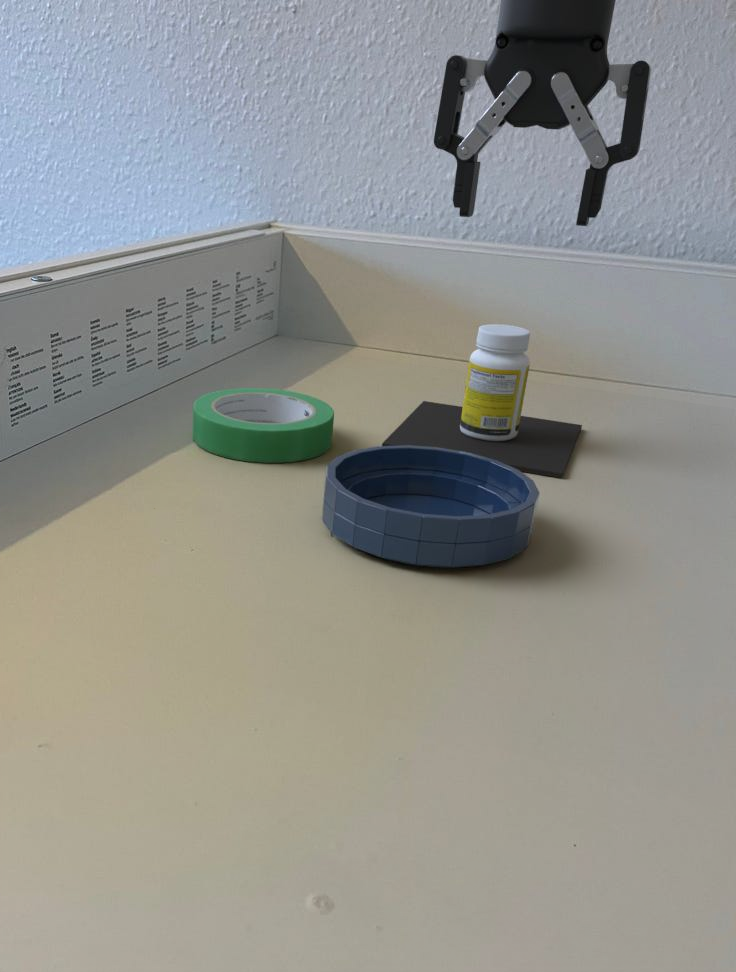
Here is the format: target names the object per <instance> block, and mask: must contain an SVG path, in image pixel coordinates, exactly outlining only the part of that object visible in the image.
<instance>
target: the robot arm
mask: <svg viewBox="0 0 736 972" xmlns="http://www.w3.org/2000/svg"><path fill="white" fill-rule="evenodd" d="M615 6H616V0H500V5H499V12H498V21H497V27H496V33H495V34H496V35H495V41H494V46H493V50H492V52H491V53H490V55H489V57H488V58H487V60H484V59H475V58H474V59H473V58H467V57H465V56H463V55H460V54H459V55H458V54H455V55H451V56H450V57H448V59H447V61H446V64H445V69H444V77H443V81H442V88H441V94H440V100H439V105H438V106H439V107H438V111H437V118H436V123H435V128H434V129H435V130H434V135H433V144H434V147H435V148H436V149H438V150H442V151H444V152H447V153H448V154H450V155H452V156H453V157H454V158H455V161H456V168H455V169H456V170H455V176H454V186H453V194H452V203H453V207H454V209H455V208H457V209H459V213H458V214H459V215H458V216H459V217H461V218H470V217H473V215H474V212H475V205H476V200H477V199H476V198H477V191H478V184H479V178H480V176H479V175H480V169H481V161H478V160H479V159H478V158H479V154H480V153H481V152H482V151H483V149H484V148H485V147H486V146H487V145H488V144H489V142H490V141H491V140H492V139H493V138H494V137H495V136H496V135H498V133H499V132H500V131H501V130H502V128H504V126H505V125H506V124H507V123H508V124H509V125H510V126H512V127H513V128H520V129H521V128H523V129H527V128H532V127H536V126H538V127H540V128H543V129H546V130H562V129H564V128H567V127H569V126H571V128H572V131H573V133H574V134H575V136H576V139H577V140H578V141H579V143H580V145H581V148H583V151H584V153H585V155H586V157H587V159H588V161H589V163H590V164H589V167H588V168H587V169H585V173H584V179H583V185H582V190H581V194H580V200H579V206H578V212H577V218H576V222H575V223H576V227H577V226H579V227H587V226H588V225H589V221H590V218H592V219H595V218H597V216H598V214H599V213H600V212H601V209H602V205H603V199H604V194H605V191H606V190H605V189H606V184H607V179H608V173H609V171H610V169H611V168H612V167H613V166H614V165H616V164H619V163H623V162H626V161H631V160H632V159H634V158H635V157H636V156H637V155H638V154H639V152H640V148H641V141H642V134H643V128H644V121H645V114H646V107H647V101H648V92H649V86H650V80H651V73H652V68H651V66H650V64H649V63H648V62H647V61H646V60H637V61H635V62H634V63H619V64H618V63H617V64H611V63H610V61H609V58H608V43H609V39H610V33H611V28H612V22H613V17H614V12H615ZM481 77H484V80H485V82H486V84H487V87H488V88H489V90H490V93H491V94H492V97H493V98H494V101H493V103H492V104H491V105H490V106H489V107H487V110H486V111H485V112H484V113H483V114H482V116H480V118H479V119H478V121H477V122H476V124H475V125H474V127H473V128H471V130H470V132H469V133H468V134H467V135H466V136H465V137H464V136H462V135H461V134H459V129H460V124H461V117H462V114H463V113H462V112H463V108H464V107H463V106H464V101H465V95H466V93H469V92H471V91H473V90H474V89H475V87H476V85H477V82H478V80H479V79H481ZM608 81H611V82H612V83H614V85H615V92H616V93H615V94H616V96H617V97H618V98H620V99H622V100H625V107H624V112H623V121H622V128H621V133H620V134H621V135H620V142H619V143H616V144H613V145H610V146H608V145H607V143H606V141H605V139H604V137H603V135H602V133H601V131H600V128H599V126H598V123H597V121H596V120H595V118H594V116H593V114H592V112H591V109H590V108H589V105H590V103H591V102H592V101H593V100H594V99H595V97H597V95H598V94H599V93H600V92H601V91H602V89H604V87H605V86H606V85H607V83H608Z"/></svg>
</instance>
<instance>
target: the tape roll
mask: <svg viewBox="0 0 736 972" xmlns="http://www.w3.org/2000/svg"><path fill="white" fill-rule="evenodd" d="M192 407H193V408H192V439H193V442H194V443H195V444H196V445H197V446H198V447H199V448H201V449H203V450H204V451H206V452H208V453H211V454H213V455H216V456H219V457H223V458H227V459H230V460H236V461H242V462H250V463H262V464H263V463H264V464H265V463H266V464H281V463H282V464H283V463H294V462H295V463H296V462H300V461H301V462H303V461H305V460H306V461H307V460H310V459H314V458H317V457H319V456H322V455H324V454H325V453H326V452H328V451H329V450H330V448H331V447H332V442H333V441H332V440H333V432H334V421H335V411H334V408H333V407H332V406H331V405H330V404H329V403H326V402H325V401H323V400H321V399H319V398H317V397H314V396H311V395H308V394H306V393H305V394H304V393H300V392H296V391H290V390H283V389H276V388H264V387H261V388H260V387H238V388H227V389H221V390H217V391H213V392H209V393H206V394H203V395H202V396H200V397H198V398H197V399H196V400H195V401H194V403H193V406H192Z"/></svg>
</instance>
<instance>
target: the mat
mask: <svg viewBox="0 0 736 972" xmlns="http://www.w3.org/2000/svg"><path fill="white" fill-rule="evenodd" d="M462 408H463V406H460V405H454V404H447V403H440V402H434V401H426V400H423V401H422V402H421V403H420V404H419V405H418V406H417V407H416V408H415V409H414V410H413V411H412V412H411V413H410V414H409V415H408V417H406V418H405V420H403V421H402V423H400V425H399V426H397V427H396V429H395V430H393V432H392V433H391V434H390V435H388V437H387V438H386V439H385V440H384V441H383V442H382V444H381V446H401V445H407V446H408V445H412V446H427V447H438V448H445V449H451V450H457V451H463V452H468V453H472V454H476V455H479V456H483V457H487V458H490V459H494V460H497V461H499V462H502V463H504V464H506V465H508V466H511V467H513V468H515V469H518V470H519V471H521V472H522V473H527V474H528V473H529V474H533V475H540V476H544V477H545V476H546V477H552V478H556V479H557V478H558V479H563V477H564V474H565V472H566V469H567V466H568V464H569V462H570V460H571V457H572V455H573V451H574V448H575V446H576V444H577V441H578V439H579V436H580V433H581V431H582V427H583V425H582V424H577V423H572V422H566V421H559V420H551V419H545V418H538V417H532V416H525V415H521V417H520V423H519V429H518V433H517V435H516V436H515V437H514V438H512V439H510V440H506V441H486V440H480V439H476V438H473V437H469V436H467V435H465V434H463V433H462V432H461V430H460V422H461V415H462Z"/></svg>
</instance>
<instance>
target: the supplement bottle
mask: <svg viewBox="0 0 736 972" xmlns="http://www.w3.org/2000/svg"><path fill="white" fill-rule="evenodd" d="M530 338H531V331H530V330H528V329H526V328H524V327H520V326H516V325H512V324H502V323H490V324H483V325H480V326H479V327H478V331H477V335H476V341H475V342H476V343H475V346H476V347H477V348H478V349H475V350H474V351H472V353H471V354H470V357H469V361H468V367H467V374H466V375H467V376H466V381H465V389H464V394H463V395H464V396H463V403H462V407H463V408H462V415H461V422H460V430H461V432H462V433H463V434H465V435H467V436H469V437H473V438H476V439H480V440H486V441H506V440H510V439H512V438H514V437H515V436H516V435H517V433H518V429H519V423H520V417H521V416H522V411H523V404H524V401H525V400H524V399H525V393H526V388H527V382H528V378H529V377H528V376H529V371H530V367H531V363H530V362H531V361H530V358H529V356H528V355H527V354H526V353H525V352H527V351H528V349H529V348H528V347H529V345H530V344H529V342H530Z"/></svg>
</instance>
